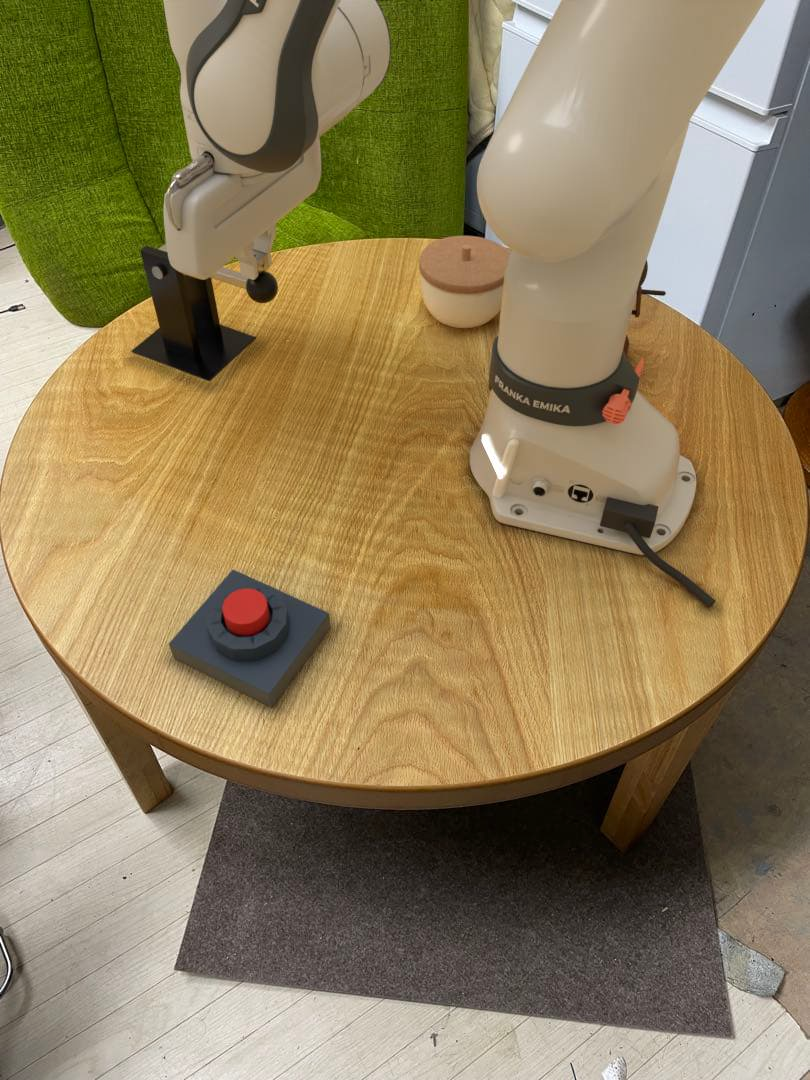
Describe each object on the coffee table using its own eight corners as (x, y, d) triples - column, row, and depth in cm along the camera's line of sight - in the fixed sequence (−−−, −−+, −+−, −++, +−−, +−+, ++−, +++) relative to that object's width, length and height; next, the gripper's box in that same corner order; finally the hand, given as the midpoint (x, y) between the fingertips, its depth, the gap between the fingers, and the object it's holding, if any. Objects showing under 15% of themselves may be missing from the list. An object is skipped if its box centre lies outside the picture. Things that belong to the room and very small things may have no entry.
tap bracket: (257, 345, 101) (241, 236, 91) (211, 389, 96) (187, 279, 85) (182, 318, 104) (157, 211, 94) (133, 359, 99) (101, 250, 89)
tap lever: (285, 296, 89) (282, 269, 87) (268, 312, 87) (264, 285, 85) (177, 262, 94) (171, 234, 91) (158, 276, 92) (151, 249, 89)
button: (278, 611, 72) (275, 598, 70) (253, 643, 70) (250, 630, 68) (242, 594, 73) (239, 581, 71) (216, 625, 71) (213, 613, 69)
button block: (331, 627, 75) (328, 600, 72) (272, 708, 70) (266, 682, 67) (236, 584, 78) (229, 555, 75) (173, 658, 73) (163, 631, 70)
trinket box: (509, 344, 101) (517, 273, 94) (417, 343, 101) (418, 272, 94) (504, 292, 108) (511, 222, 101) (418, 291, 108) (419, 221, 101)
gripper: (194, 192, 69) (220, 336, 80) (328, 96, 81) (336, 233, 91) (131, 173, 71) (165, 316, 81) (272, 82, 83) (286, 217, 93)
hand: (256, 271), depth 86 cm, fingers closed
